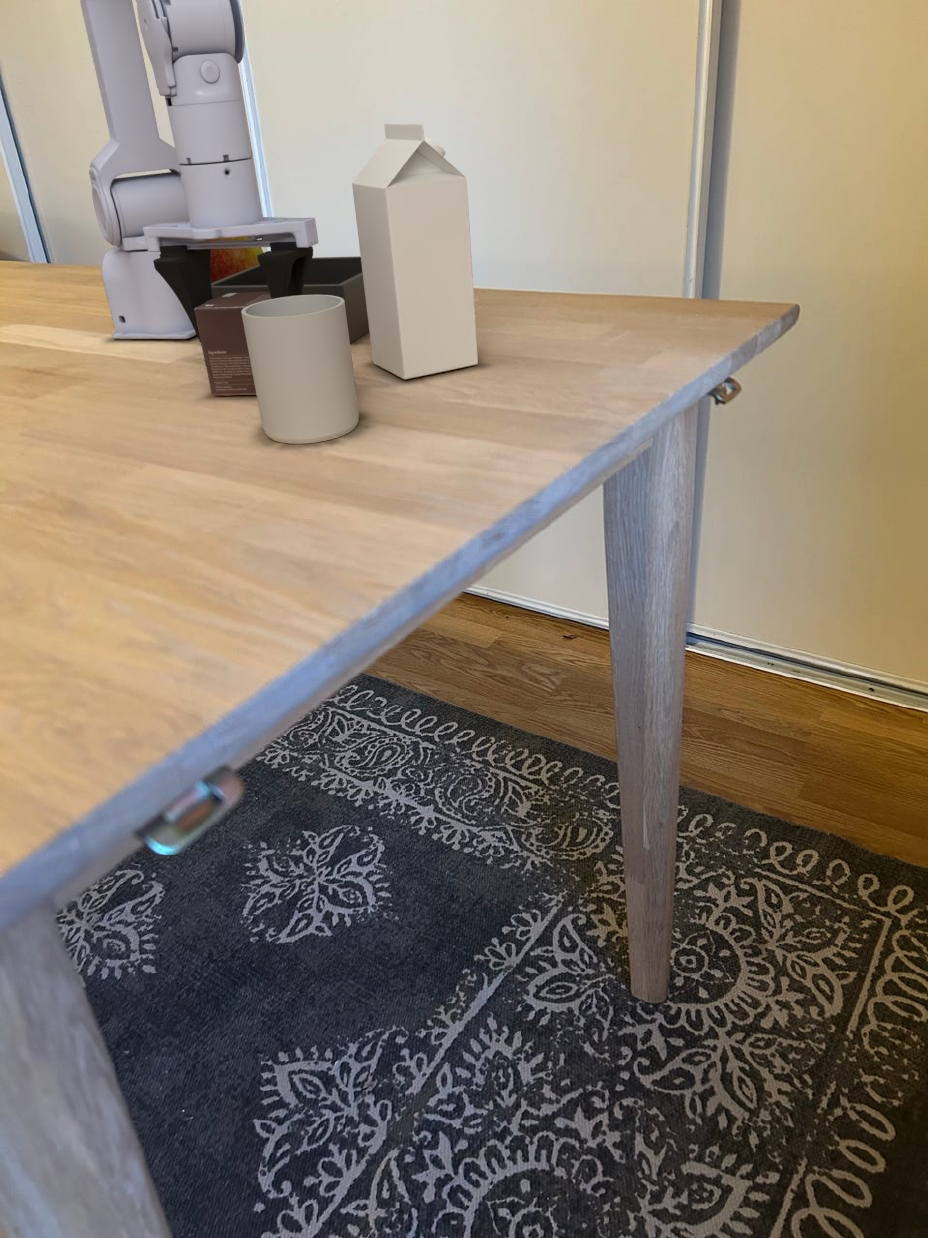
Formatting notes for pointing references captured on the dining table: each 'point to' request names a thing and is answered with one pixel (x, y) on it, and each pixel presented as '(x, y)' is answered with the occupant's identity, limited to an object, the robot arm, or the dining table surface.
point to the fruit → (231, 259)
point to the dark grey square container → (314, 287)
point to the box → (227, 342)
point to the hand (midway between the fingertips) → (248, 339)
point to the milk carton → (416, 256)
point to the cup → (302, 367)
